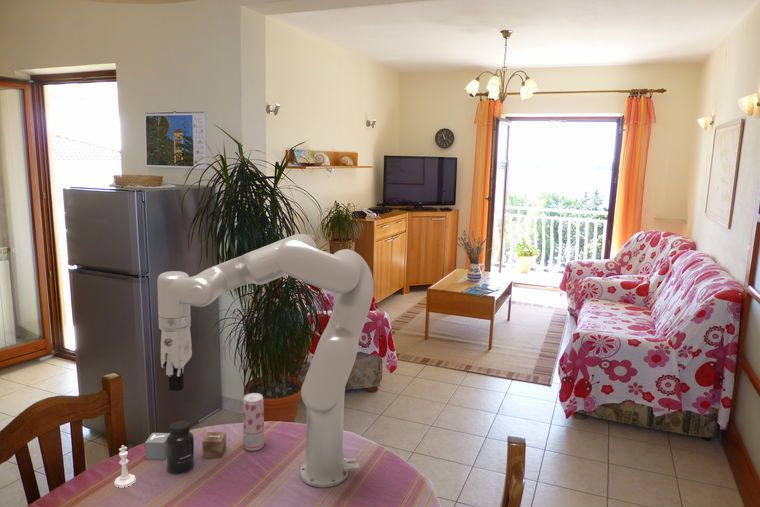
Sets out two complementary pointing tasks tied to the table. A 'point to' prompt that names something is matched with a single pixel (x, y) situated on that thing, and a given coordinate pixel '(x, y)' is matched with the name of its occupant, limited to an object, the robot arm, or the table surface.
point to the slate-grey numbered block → (156, 446)
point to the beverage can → (253, 421)
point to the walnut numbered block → (214, 445)
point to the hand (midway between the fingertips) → (176, 389)
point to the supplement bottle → (180, 448)
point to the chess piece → (124, 471)
